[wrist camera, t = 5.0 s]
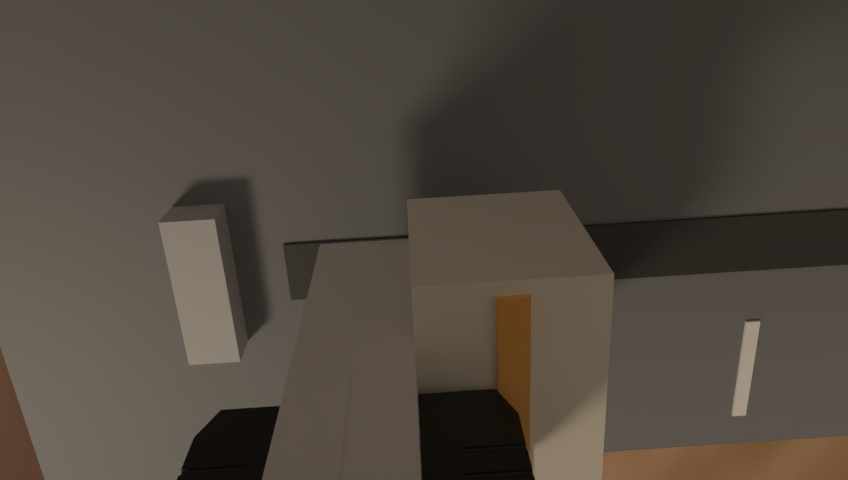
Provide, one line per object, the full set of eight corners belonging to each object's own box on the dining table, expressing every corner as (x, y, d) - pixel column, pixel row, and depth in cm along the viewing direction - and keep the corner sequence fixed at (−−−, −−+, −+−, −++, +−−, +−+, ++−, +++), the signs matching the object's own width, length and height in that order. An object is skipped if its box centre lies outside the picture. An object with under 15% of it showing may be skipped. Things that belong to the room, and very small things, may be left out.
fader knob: (418, 366, 15) (429, 568, 10) (404, 161, 13) (411, 290, 8) (533, 358, 15) (599, 557, 10) (536, 153, 13) (616, 277, 8)
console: (83, 431, 18) (31, 515, 15) (-207, -543, 11) (-398, -695, 8) (1106, 364, 18) (1224, 435, 16) (1489, -620, 11) (1822, -789, 8)
